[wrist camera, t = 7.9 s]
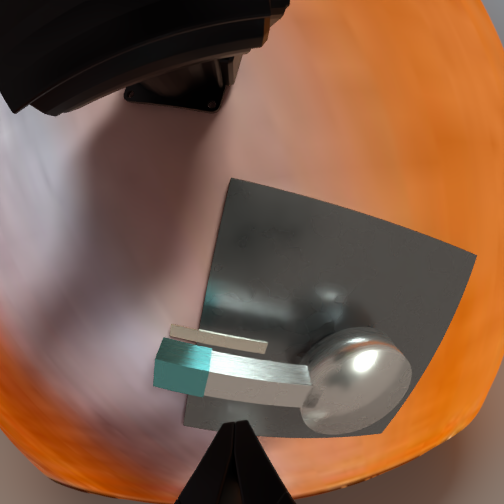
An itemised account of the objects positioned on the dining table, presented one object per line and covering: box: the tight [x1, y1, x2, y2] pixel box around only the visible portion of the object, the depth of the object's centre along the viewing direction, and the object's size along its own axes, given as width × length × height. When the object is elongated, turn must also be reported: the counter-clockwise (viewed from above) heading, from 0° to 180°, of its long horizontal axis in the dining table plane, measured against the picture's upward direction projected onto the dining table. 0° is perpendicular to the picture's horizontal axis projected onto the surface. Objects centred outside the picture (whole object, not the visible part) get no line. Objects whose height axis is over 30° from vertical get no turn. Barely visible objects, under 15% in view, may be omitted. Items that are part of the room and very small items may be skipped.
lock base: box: [170, 178, 477, 438], centre depth 20 cm, size 24×22×2 cm
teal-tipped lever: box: [153, 326, 412, 435], centre depth 16 cm, size 17×8×3 cm, turn 76°
